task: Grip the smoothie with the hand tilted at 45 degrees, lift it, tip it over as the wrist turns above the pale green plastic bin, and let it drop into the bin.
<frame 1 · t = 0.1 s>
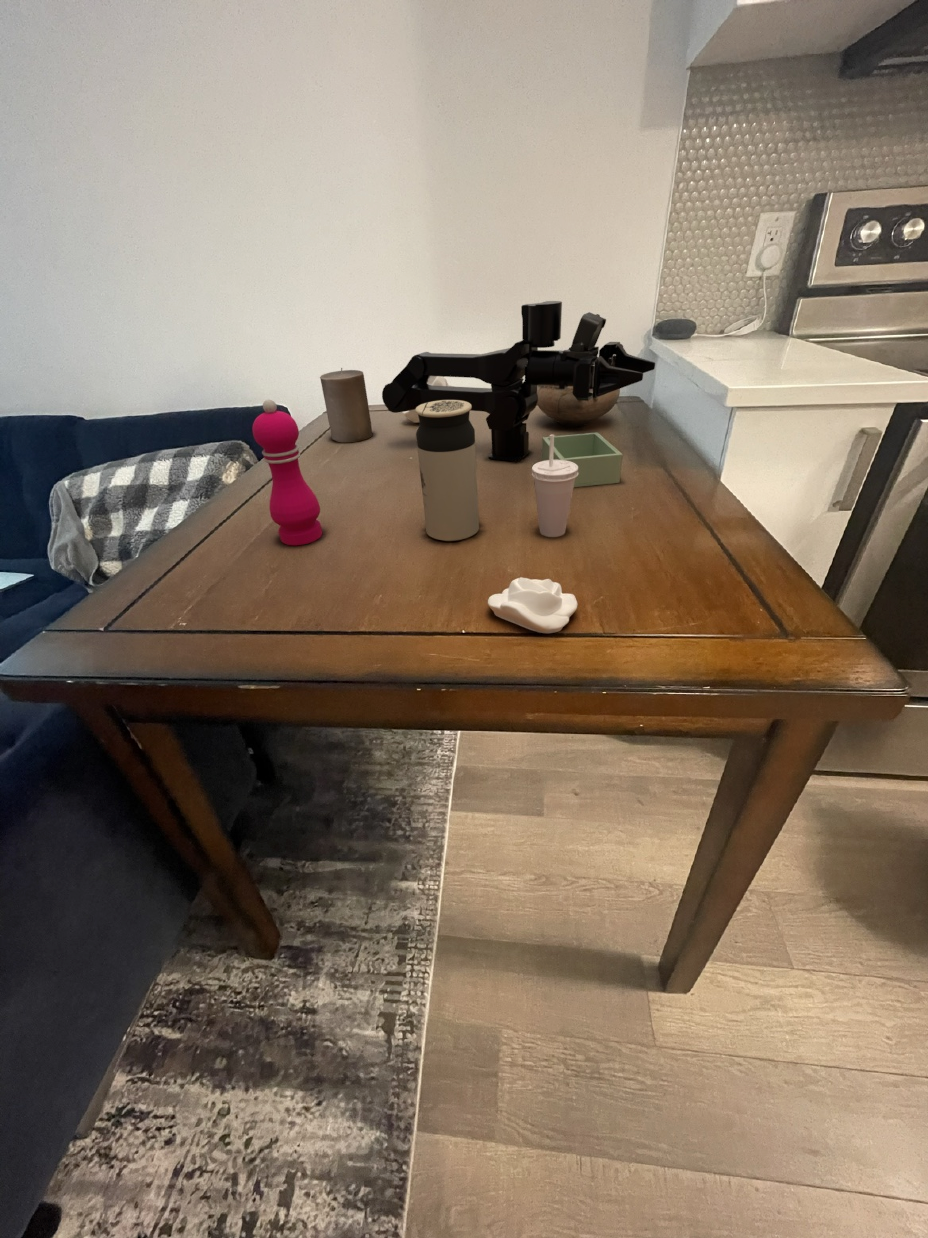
hand: (649, 371, 90), 17 cm above the table, tool horizontal, fingers open, 9 cm apart
pepper mill: (302, 537, 83), on the table
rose: (531, 613, 63), on the table
bin: (578, 472, 99), on the table
pillar candle: (352, 437, 128), on the table
smoothie: (552, 532, 80), on the table
travel mug: (452, 532, 82), on the table
skull bowl: (434, 421, 136), on the table
cooking pot: (574, 423, 127), on the table
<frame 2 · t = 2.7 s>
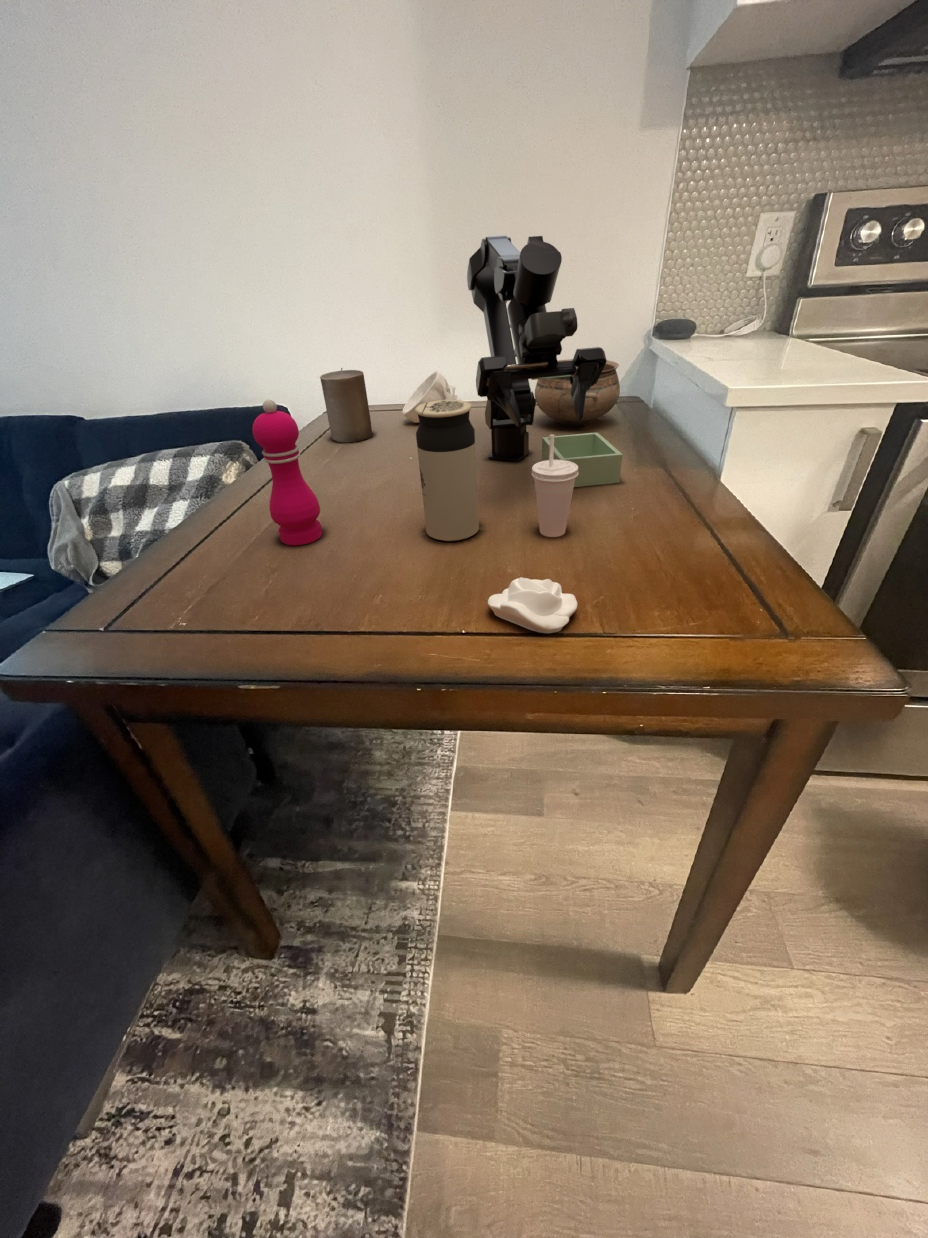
hand: (550, 421, 79), 13 cm above the table, tool tilted 45°, fingers open, 9 cm apart
nothing on the table moved.
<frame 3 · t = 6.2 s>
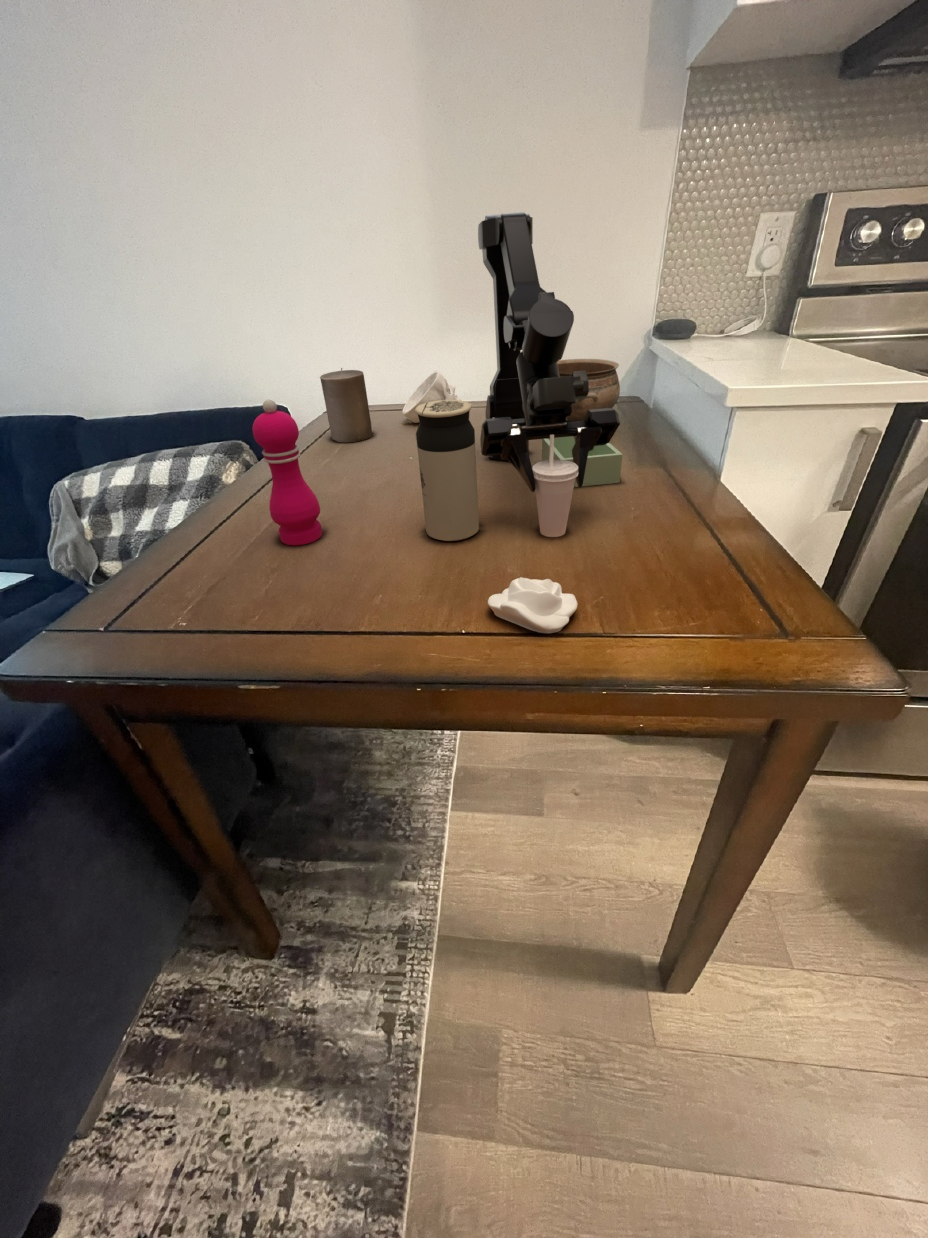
hand: (557, 488, 75), 7 cm above the table, tool tilted 45°, fingers closed on smoothie, 6 cm apart
smoothie: (552, 532, 80), on the table, touching gripper
everything else where it was.
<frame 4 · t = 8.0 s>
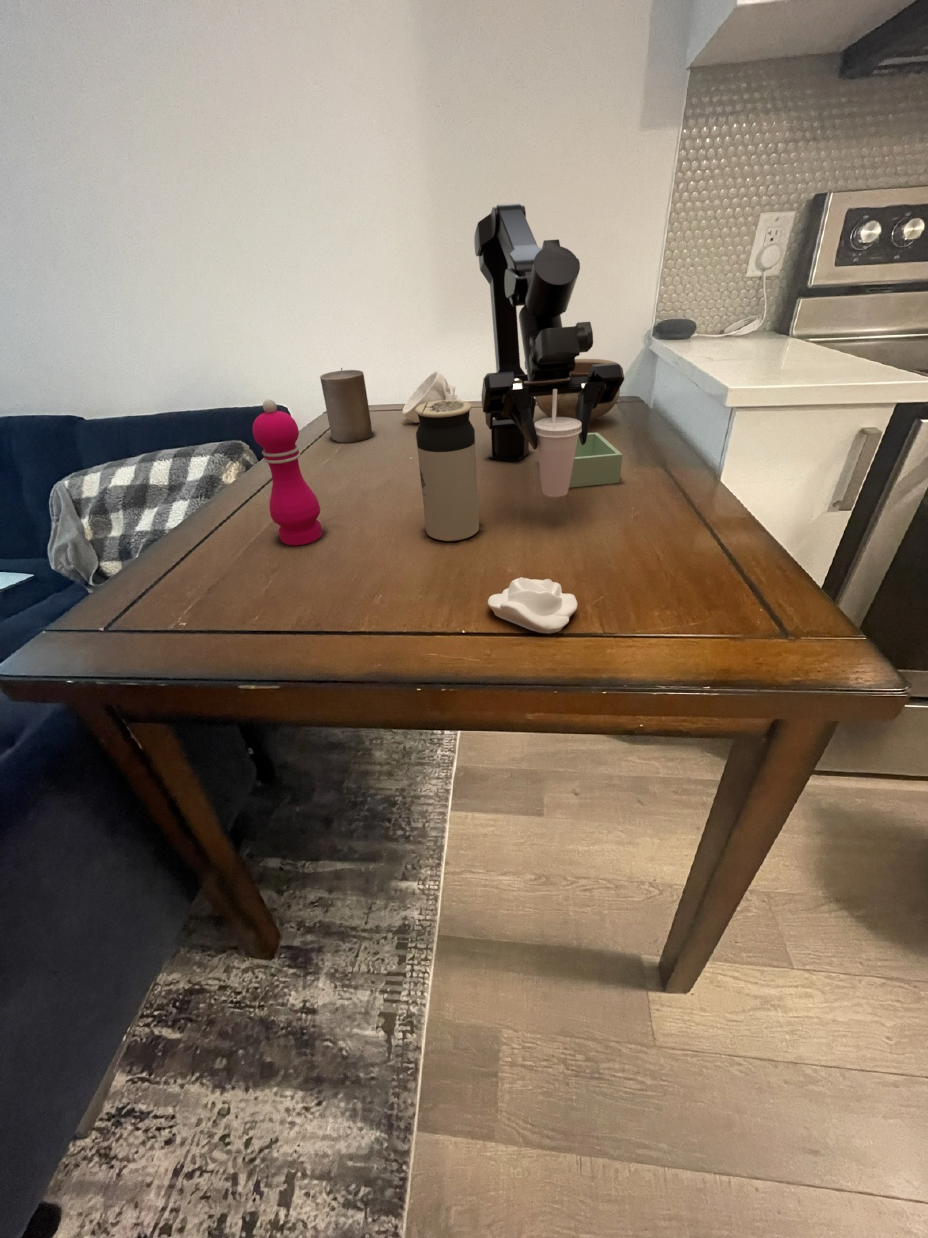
hand: (559, 445, 73), 12 cm above the table, tool tilted 45°, fingers closed on smoothie, 6 cm apart
smoothie: (554, 493, 78), point 5 cm above the table, touching gripper
everything else where it was.
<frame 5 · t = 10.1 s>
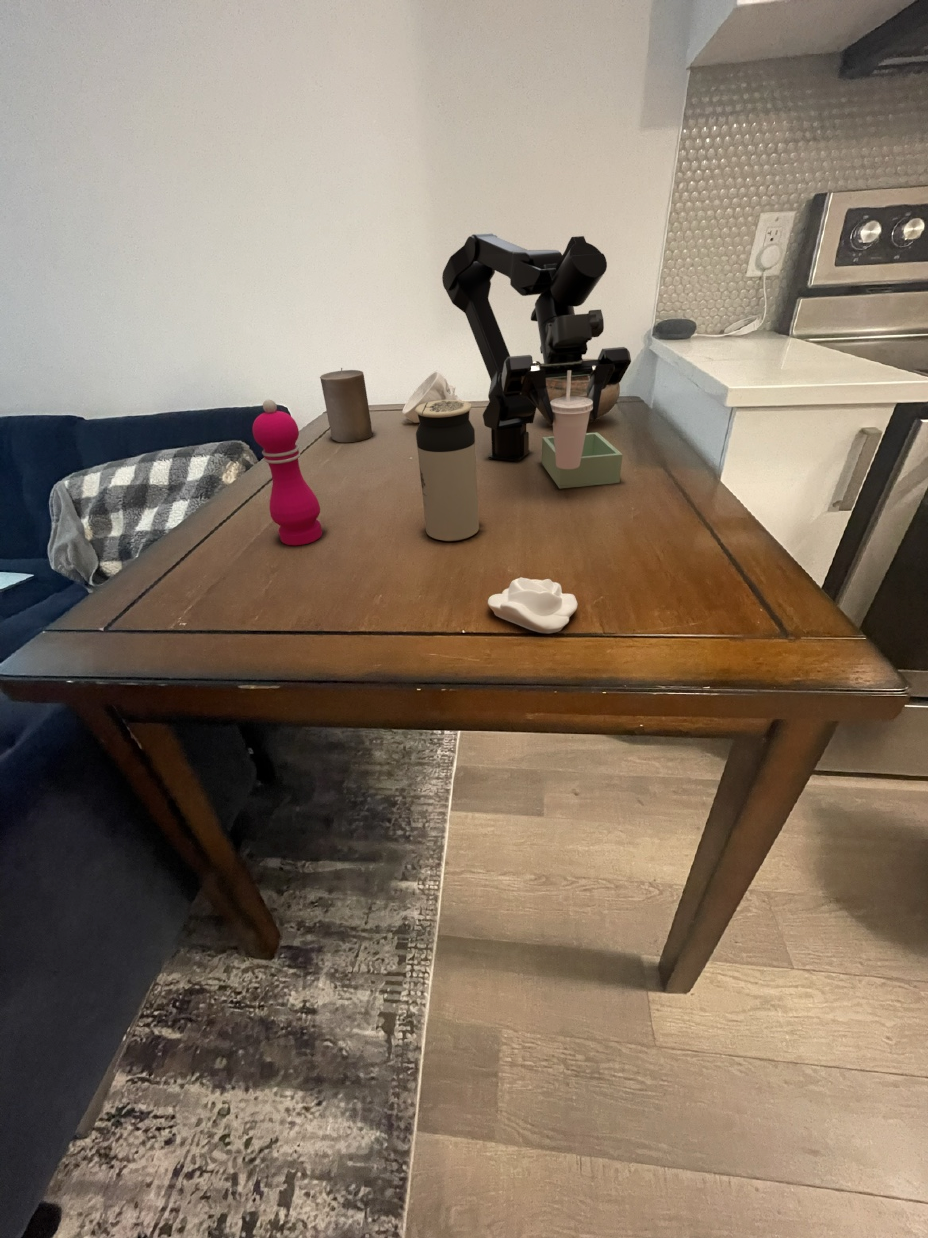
hand: (573, 421, 81), 13 cm above the table, tool tilted 45°, fingers closed on smoothie, 6 cm apart
smoothie: (567, 466, 86), point 5 cm above the table, touching gripper
everything else where it was.
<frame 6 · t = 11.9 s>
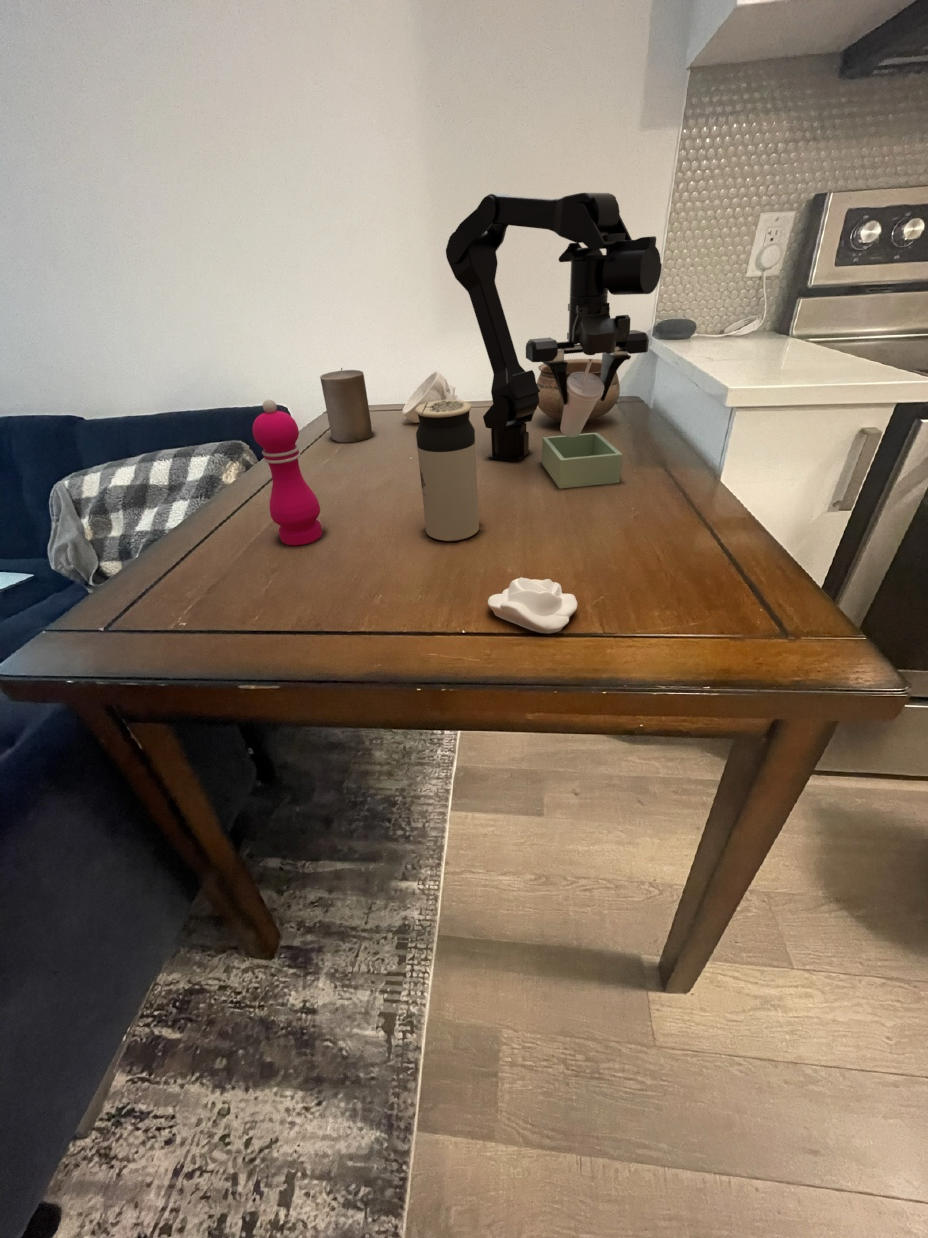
hand: (583, 402, 92), 12 cm above the table, tool pointing down, fingers closed on smoothie, 6 cm apart
smoothie: (570, 430, 98), point 7 cm above the table, touching gripper
everything else where it was.
when the fingers open (7 cm above the table, at t = 14.4 s): smoothie moves 1 cm, resting on bin.
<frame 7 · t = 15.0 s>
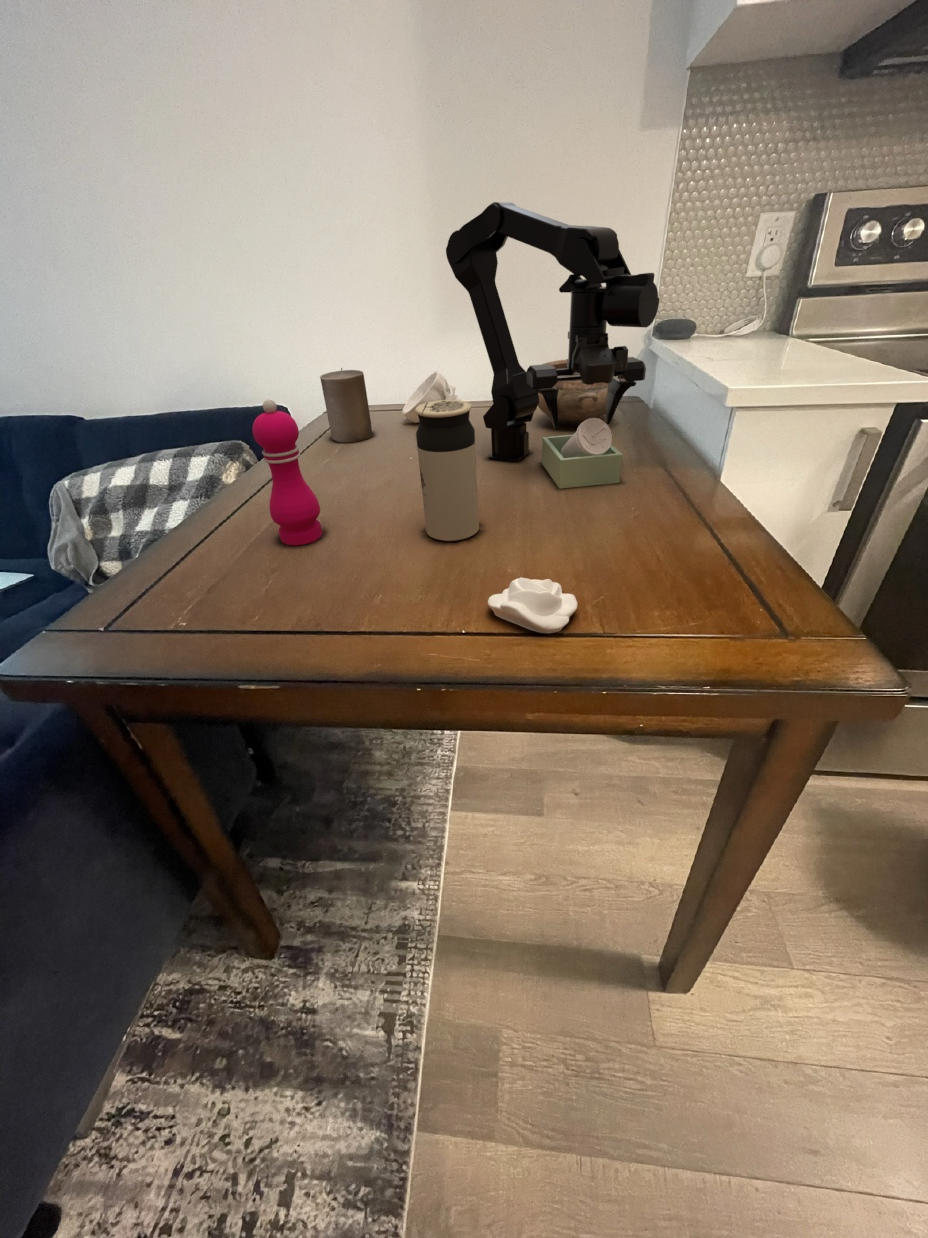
hand: (581, 426, 95), 8 cm above the table, tool pointing down, fingers open, 9 cm apart
smoothie: (569, 454, 101), point 2 cm above the table, touching bin
everything else where it was.
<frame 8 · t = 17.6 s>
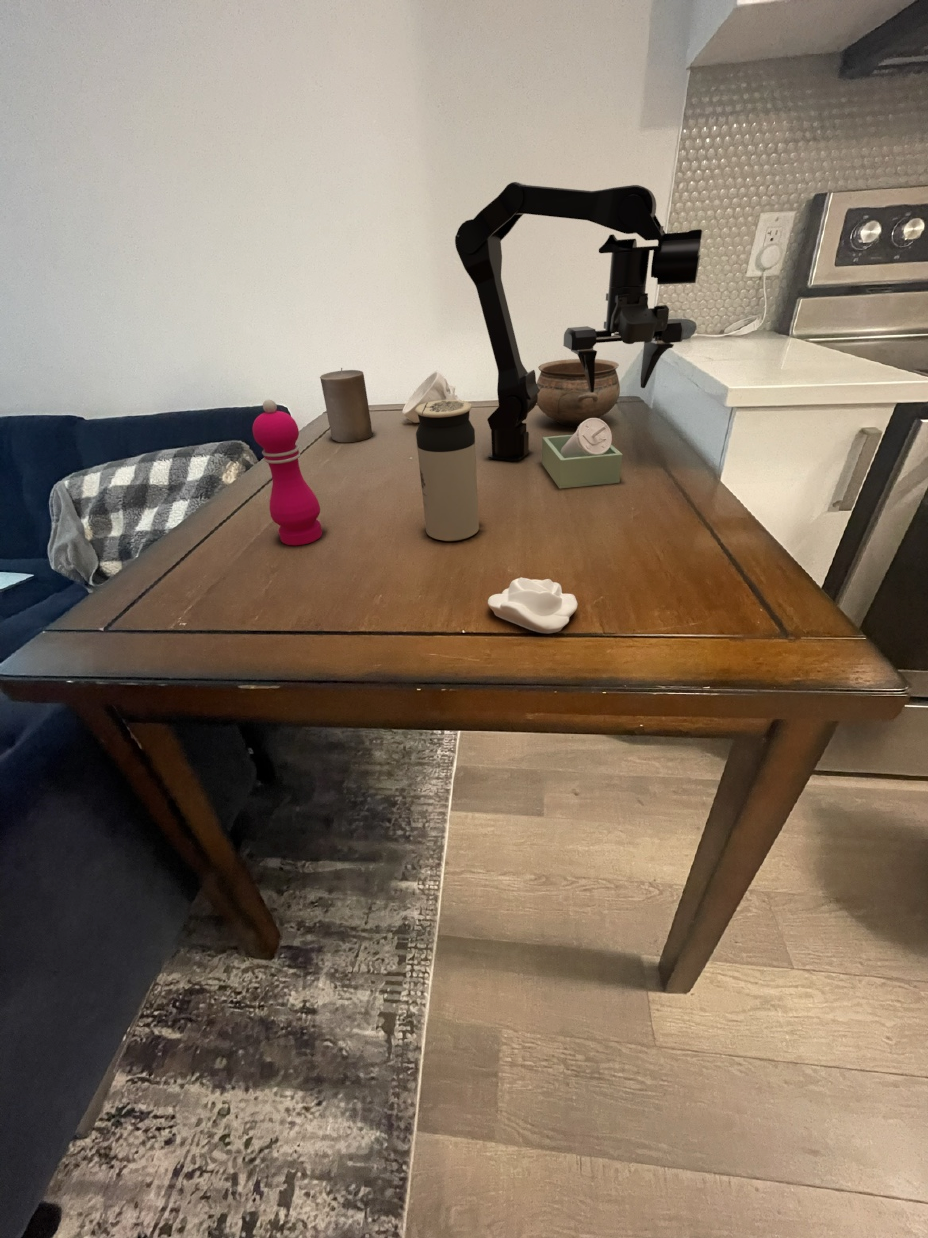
hand: (617, 389, 95), 13 cm above the table, tool pointing down, fingers open, 9 cm apart
nothing on the table moved.
at the end: smoothie inside the target area in the bin (3.7 cm from its centre), point 2.4 cm above the bin's base; the gripper is holding nothing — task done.
